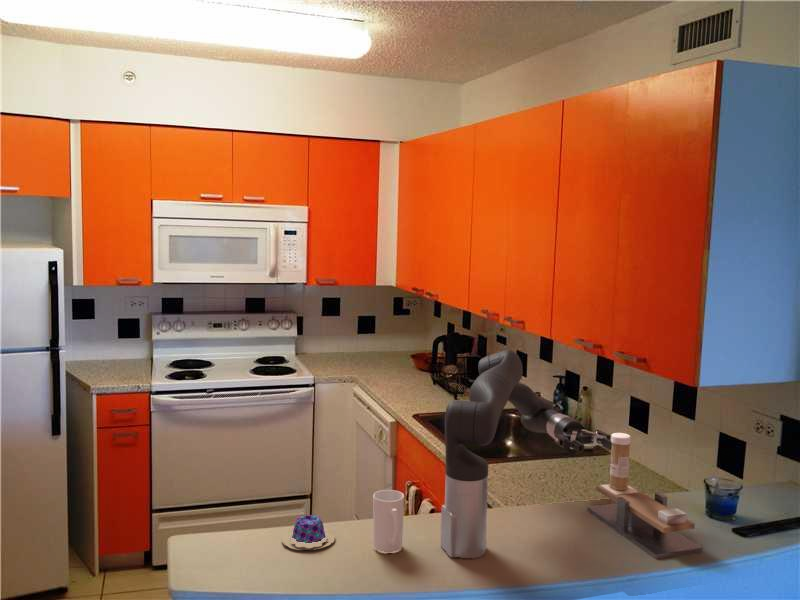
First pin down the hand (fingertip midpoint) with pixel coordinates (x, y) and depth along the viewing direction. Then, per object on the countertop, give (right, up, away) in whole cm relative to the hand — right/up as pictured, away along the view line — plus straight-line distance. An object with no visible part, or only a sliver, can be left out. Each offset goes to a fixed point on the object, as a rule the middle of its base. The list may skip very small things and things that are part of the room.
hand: (597, 447), depth 187 cm
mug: (-53, -17, -30) cm, 63 cm away
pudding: (-72, -16, -25) cm, 78 cm away
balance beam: (+6, -10, -18) cm, 21 cm away
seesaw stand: (+6, -16, -17) cm, 24 cm away
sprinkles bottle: (+3, -8, -9) cm, 12 cm away
